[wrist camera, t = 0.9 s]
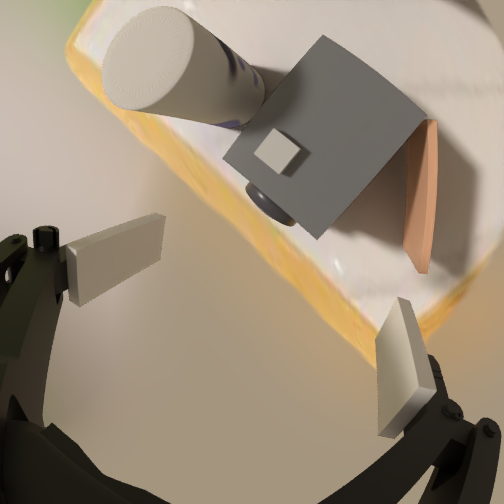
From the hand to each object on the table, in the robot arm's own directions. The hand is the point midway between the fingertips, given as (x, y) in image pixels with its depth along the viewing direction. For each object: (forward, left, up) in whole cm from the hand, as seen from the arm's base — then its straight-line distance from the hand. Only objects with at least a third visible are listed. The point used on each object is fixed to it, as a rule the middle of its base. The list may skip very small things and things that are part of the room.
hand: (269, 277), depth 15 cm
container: (-5, -19, -26) cm, 32 cm away
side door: (-11, +8, -24) cm, 28 cm away
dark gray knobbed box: (-6, -4, -25) cm, 26 cm away
